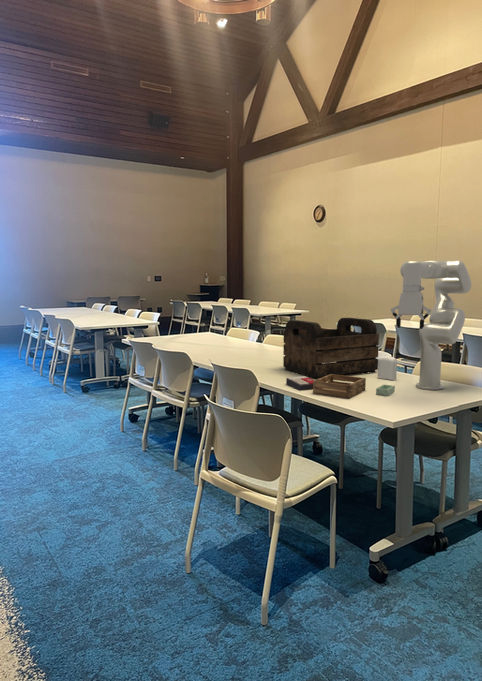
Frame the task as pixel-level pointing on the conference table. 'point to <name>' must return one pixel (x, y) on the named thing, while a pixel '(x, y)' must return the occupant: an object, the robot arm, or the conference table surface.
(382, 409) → the conference table surface
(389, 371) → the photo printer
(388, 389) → the box
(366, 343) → the wooden crate
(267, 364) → the conference table surface
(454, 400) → the conference table surface
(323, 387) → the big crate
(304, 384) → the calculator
